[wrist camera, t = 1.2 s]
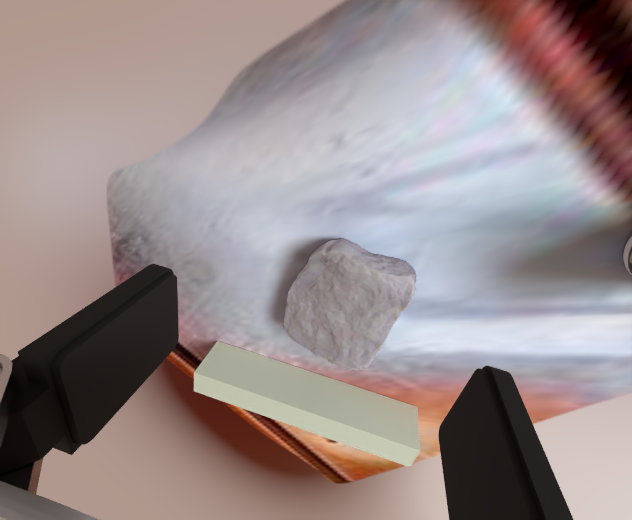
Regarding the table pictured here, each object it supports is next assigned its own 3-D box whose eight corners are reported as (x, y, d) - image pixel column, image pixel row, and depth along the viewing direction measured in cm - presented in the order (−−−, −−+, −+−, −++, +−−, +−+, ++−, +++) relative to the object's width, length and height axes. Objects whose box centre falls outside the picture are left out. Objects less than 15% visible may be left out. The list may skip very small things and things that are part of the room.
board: (217, 340, 37) (194, 372, 33) (417, 406, 35) (420, 450, 30) (216, 358, 38) (193, 391, 34) (408, 423, 36) (409, 467, 32)
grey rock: (291, 310, 35) (370, 358, 33) (269, 333, 31) (358, 389, 29) (328, 217, 30) (426, 266, 27) (307, 229, 25) (421, 288, 23)
